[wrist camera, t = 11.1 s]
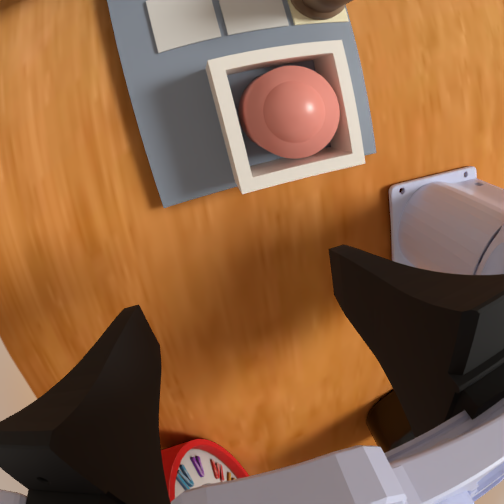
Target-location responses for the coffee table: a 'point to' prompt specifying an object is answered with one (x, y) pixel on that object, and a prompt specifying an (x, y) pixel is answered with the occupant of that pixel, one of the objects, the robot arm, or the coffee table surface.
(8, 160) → the coffee table surface
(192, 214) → the coffee table surface
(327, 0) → the pawn
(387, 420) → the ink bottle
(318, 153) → the board
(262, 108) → the dome button
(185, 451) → the toy clock
